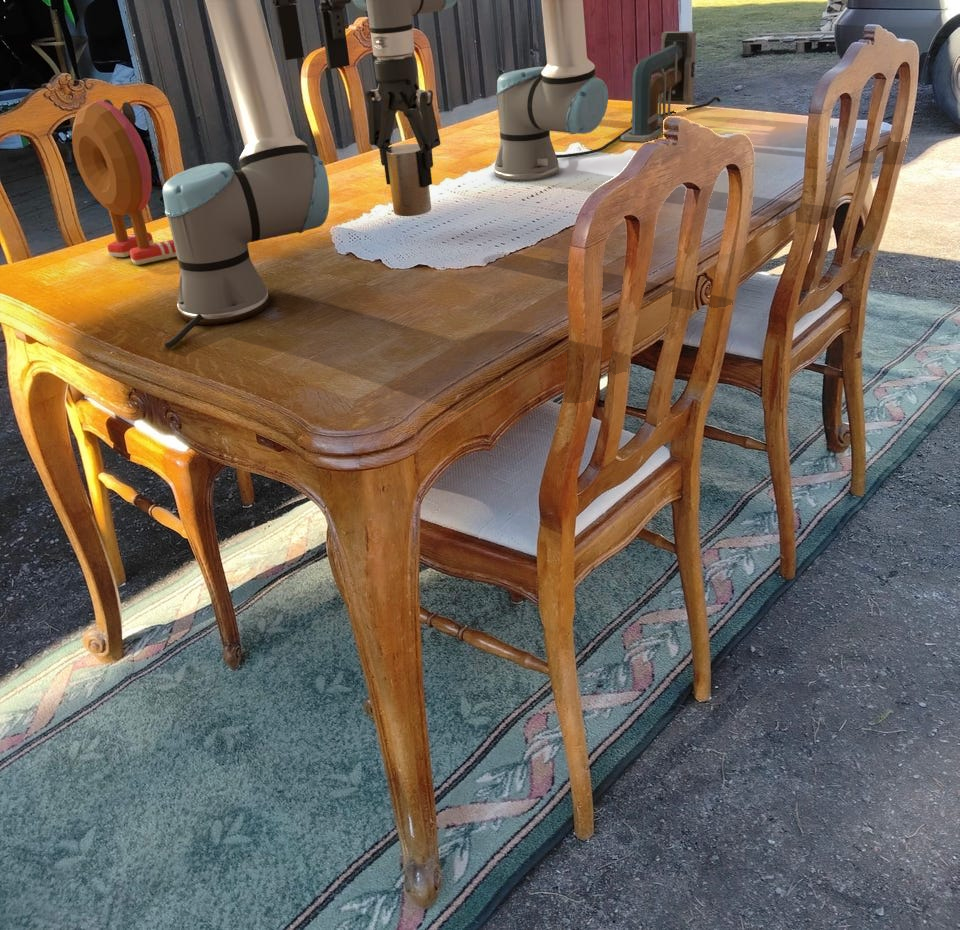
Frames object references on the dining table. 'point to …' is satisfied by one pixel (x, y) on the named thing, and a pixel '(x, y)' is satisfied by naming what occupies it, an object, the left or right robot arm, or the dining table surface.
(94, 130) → the toy
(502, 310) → the dining table surface
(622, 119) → the dining table surface
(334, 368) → the dining table surface
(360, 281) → the dining table surface
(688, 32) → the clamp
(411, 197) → the canister
